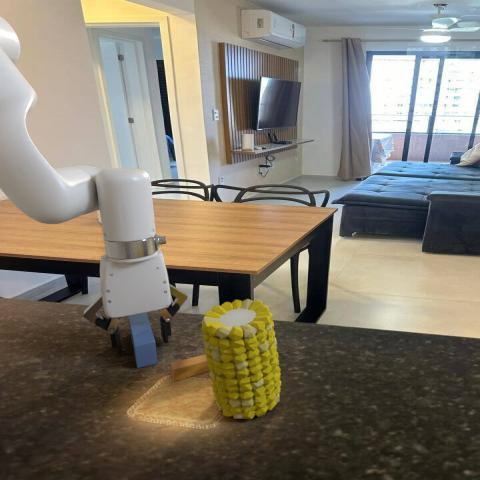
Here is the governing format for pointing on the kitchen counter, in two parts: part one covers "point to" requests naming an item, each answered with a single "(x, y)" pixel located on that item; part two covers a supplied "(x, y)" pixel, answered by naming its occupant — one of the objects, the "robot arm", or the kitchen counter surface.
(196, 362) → the tan wooden bar
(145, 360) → the blue stick
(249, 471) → the kitchen counter surface
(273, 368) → the food
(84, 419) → the kitchen counter surface
